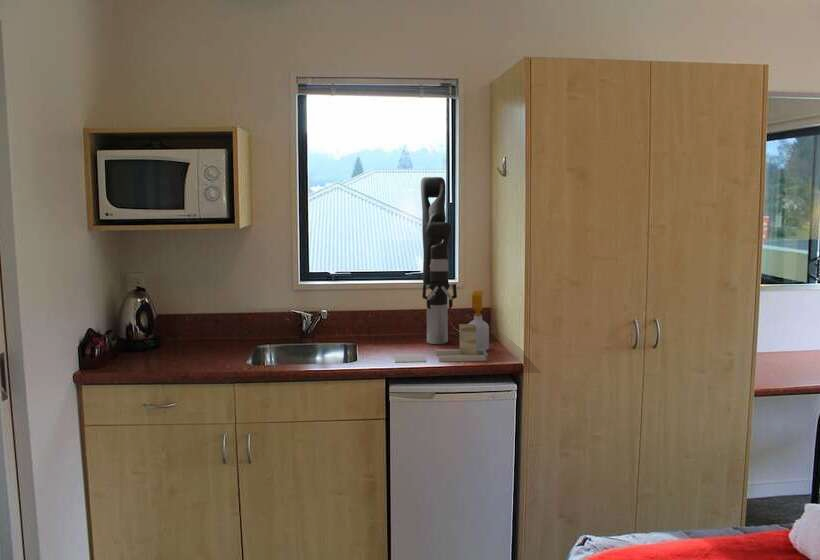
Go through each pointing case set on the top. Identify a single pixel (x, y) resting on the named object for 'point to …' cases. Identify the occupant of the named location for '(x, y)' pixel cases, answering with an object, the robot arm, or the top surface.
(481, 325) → the soap bottle
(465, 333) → the birch block
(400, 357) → the grey mat
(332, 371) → the top surface
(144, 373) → the top surface
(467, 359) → the walled channel
